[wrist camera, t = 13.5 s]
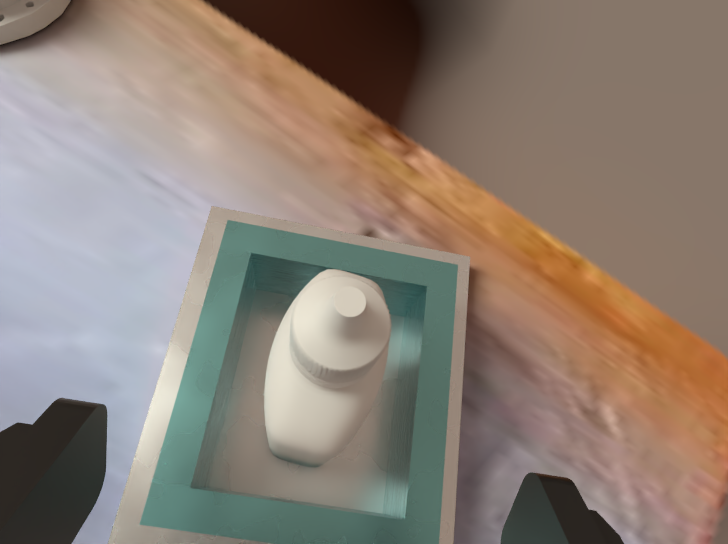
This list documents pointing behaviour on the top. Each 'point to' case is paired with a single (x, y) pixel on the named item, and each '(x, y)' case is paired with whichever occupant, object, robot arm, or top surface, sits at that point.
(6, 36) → the mechanical component
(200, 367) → the tray
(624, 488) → the top surface
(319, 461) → the eye dropper bottle
